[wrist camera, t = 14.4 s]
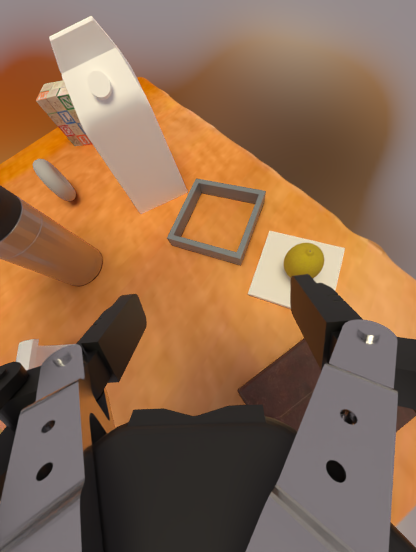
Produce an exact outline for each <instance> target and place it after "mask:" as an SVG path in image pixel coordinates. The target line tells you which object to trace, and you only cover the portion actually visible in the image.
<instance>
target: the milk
mask: <svg viewBox="0 0 416 552" xmlns="http://www.w3.org/2000/svg"><path fill="white" fill-rule="evenodd" d="M49 38H50V43H51V46H52V49H53V52H54V54H55V57H56V61H57V63H58V67H59V70H60V72H61V73H62V78H63V80H64V83H65V85H66V88H67V90H68V93H69V96H70V98H71V101H72V103H73V106H74V108H75V111H76V113H77V116H78V118H79V120H80V123H81V125H82V127H83V129H84V131H85V133H86V135H87V136H88V138H89V139H90V141H91V142H92V144H93V145H94V147H95V148H96V150H97V151H98V153H99V154H100V155H101V157H102V158H103V160H104V161H105V163H106V164H107V166H108V167H109V169H110V170H111V172H112V173H113V174H114V176H115V177H116V179H117V180H118V182H119V183H120V185H121V186H122V188H123V189H124V191H125V192H126V193H127V195H128V196H129V198H130V199H131V201H132V202H133V204H134V205H135V207H136V208H137V209H138V211H139V212H140V214H142V213H145V212H147V211H149V210H151V209H153V208H155V207H158V206H160V205H162V204H164V203H166V202H168V201H170V200H173V199H175V198H177V197H179V196H181V195H183V194H186V193H188V191H187V189H186V186H185V184H184V182H183V179H182V177H181V175H180V173H179V170H178V168H177V166H176V163H175V161H174V159H173V156H172V154H171V152H170V149H169V147H168V145H167V143H166V140H165V138H164V136H163V133H162V131H161V129H160V126H159V124H158V122H157V120H156V117H155V115H154V113H153V110H152V108H151V106H150V104H149V102H148V100H147V98H146V96H145V94H144V92H143V90H142V88H141V86H140V84H139V82H138V80H137V78H136V76H135V74H134V72H133V70H132V68H131V66H130V64H129V63H128V61H127V60H126V58H125V57H124V56H123V54H122V53H121V51H120V50H119V49H118V47H117V46H116V45H115V44H114V43H113V41H112V39H111V38H110V37H109V36H108V35H107V34H106V32H104V30H103V29H102V28H101V27H100V25H99V24H98V23H97V22H96V21H95V19H94V18H93V17H92V16H90V17H88V18H86V19H84V20H82V21H80V22H78V23H76V24H74V25H72V26H70V27H68V28H66V29H64V30H62V31H60V32H58V33H56V34H54V35H52V36H50V37H49Z"/></svg>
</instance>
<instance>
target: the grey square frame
mask: <svg viewBox="0 0 416 552" xmlns="http://www.w3.org/2000/svg"><path fill="white" fill-rule="evenodd" d="M201 193H204V194H209V195H214V196H219V197H224V198H229V199H234V200H239V201H244V202H248V203H253V204H255V206H254V209H253V211H252V214H251V217H250V219H249V222H248V225H247V227H246V230H245V233H244V235H243V238H242V240H241V243H240V246H239V248H238V251H237V252H233V251H230V250H226V249H222V248H219V247H215V246H211V245H208V244H204V243H200V242H197V241H193V240H190V239H186V238H182V237H181V236H182V233H183V231H184V229H185V227H186V225H187V223H188V221H189V218H190V216H191V214H192V212H193V210H194V208H195V206H196V204H197V201H198V199H199V197H200V195H201ZM265 193H266V191H262V190H257V189H251V188H246V187H240V186H235V185H229V184H223V183H218V182H212V181H207V180H201V179H196V180H195V182H194V184H193V186H192V188H191V190H190V192H189V194H188V196H187V198H186V200H185V202H184V204H183V206H182V208H181V210H180V212H179V215H178V217H177V219H176V221H175V223H174V225H173V227H172V229H171V231H170V233H169V235H168V237H167V239H168V240H169V242H170V243H171V244H172V245H173V246H176V247H179V248H183V249H186V250H190V251H193V252H197V253H200V254H203V255H207V256H210V257H214V258H217V259H220V260H224V261H227V262H231V263H234V264H238V265H241V264H242V261H243V258H244V256H245V253H246V250H247V248H248V245H249V242H250V239H251V237H252V234H253V231H254V228H255V226H256V223H257V220H258V218H259V215H260V212H261V209H262V207H263V204H264V201H265Z"/></svg>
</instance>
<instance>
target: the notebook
mask: <svg viewBox="0 0 416 552" xmlns="http://www.w3.org/2000/svg"><path fill="white" fill-rule="evenodd" d="M321 372H322V371H321V369H320V367H319V366H318V364H317V362H316V360H315V358H314V356H313V354H312V352H311V350H310V348H309V346H308V344H307V342H306V340H305V338H304V339H303V340H302V341H300V342H299V343H298V344H297V345H295V346H294V347H293V348H291V349H290V350H289V351H288V352H286V353H285V354H284V355H282V356H281V357H280V358H278V359H277V360H276V361H275V362H273V363H272V364H271V365H269V366H268V367H267V368H266V369H264V370H263V371H262V372H260V373H259V374H258V375H256V376H255V377H254V378H253V379H251V380H250V381H249V382H247V383H246V384H245V385H244V386H242V387H241V388H240V389H238V392H239V394H240V396H241V397H242V399H243V400H244V402H245V403H246V405H261V404H263V409H264V415H265V416H267V417H270V418H274V419H276V420H279V421H281V422H283V423H285V424H287V425H289V426H291V427H292V428H294V429H295V430H297V431H298V429H299V427H300V424H301V422H302V419H303V417H304V414H305V412H306V409H307V407H308V404H309V402H310V399H311V397H312V394H313V392H314V389H315V387H316V384H317V382H318V379H319V377H320V374H321ZM415 416H416V413H415V411H414V410H413V409H410V408H405V407H401V406H397V421H396V432H397V431H398V430H399V429H400V428H402V427H403V426H404V425H405V424H406V423H408V422H409V421H410V420H411V419H412V418H414V417H415Z"/></svg>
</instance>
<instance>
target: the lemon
mask: <svg viewBox="0 0 416 552" xmlns="http://www.w3.org/2000/svg"><path fill="white" fill-rule="evenodd" d="M323 265H324V254H323V252H322V250H321V249H320V248H319V247H318V246H316V245H314V244H312V243H300V244H297V245H295V246H294V247H292V248H291V249H290V250H289V251H288V253H287V254H286V256H285V258H284V270H285V272H286V274H287V275H288V276H289V277H290V278H291V276H295V275H303V274H309V275H310V276H311V277H312V278H314V277H316V276H317V275H318V274H319V273H320V272H321V270H322V268H323Z"/></svg>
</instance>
